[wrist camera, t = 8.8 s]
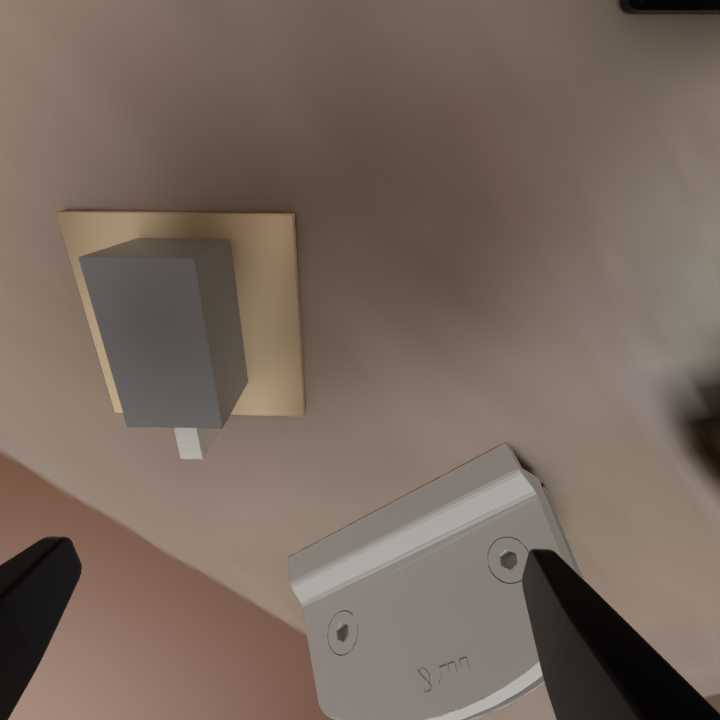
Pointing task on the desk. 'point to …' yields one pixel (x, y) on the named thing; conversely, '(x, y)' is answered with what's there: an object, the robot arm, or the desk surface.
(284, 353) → the coaster
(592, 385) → the desk surface
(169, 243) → the plug
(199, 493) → the desk surface
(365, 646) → the hinge
